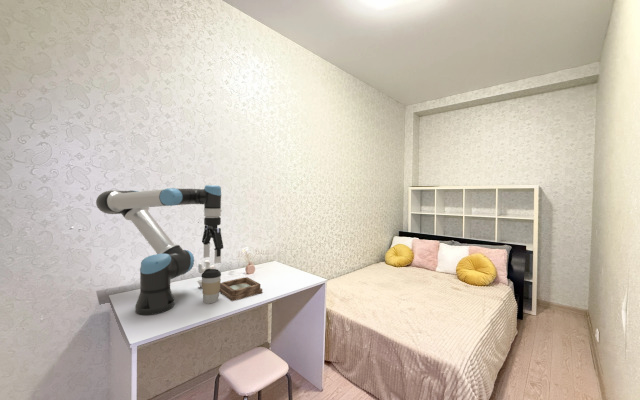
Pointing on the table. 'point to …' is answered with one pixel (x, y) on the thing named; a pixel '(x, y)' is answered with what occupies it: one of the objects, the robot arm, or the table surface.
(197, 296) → the table surface
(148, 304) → the robot arm
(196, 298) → the table surface
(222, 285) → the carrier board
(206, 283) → the coffee cup
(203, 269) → the figurine
